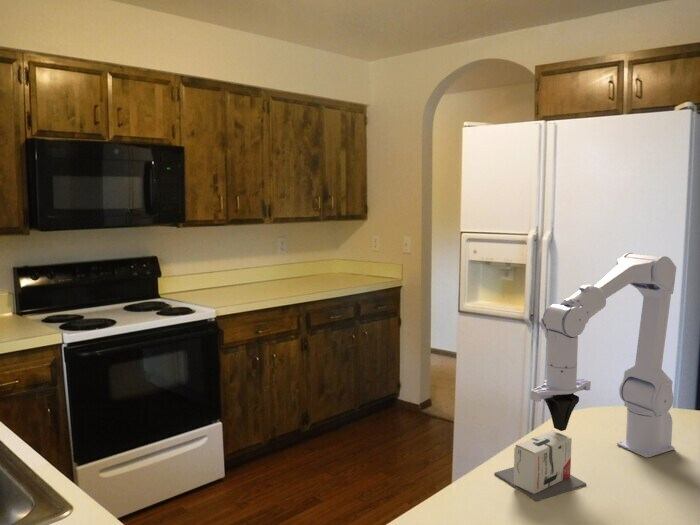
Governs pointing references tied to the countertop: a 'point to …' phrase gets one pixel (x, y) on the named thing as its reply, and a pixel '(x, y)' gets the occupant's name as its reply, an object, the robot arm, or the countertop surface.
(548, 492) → the mat
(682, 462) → the countertop surface
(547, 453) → the ink box
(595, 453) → the countertop surface
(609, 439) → the countertop surface
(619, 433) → the countertop surface
